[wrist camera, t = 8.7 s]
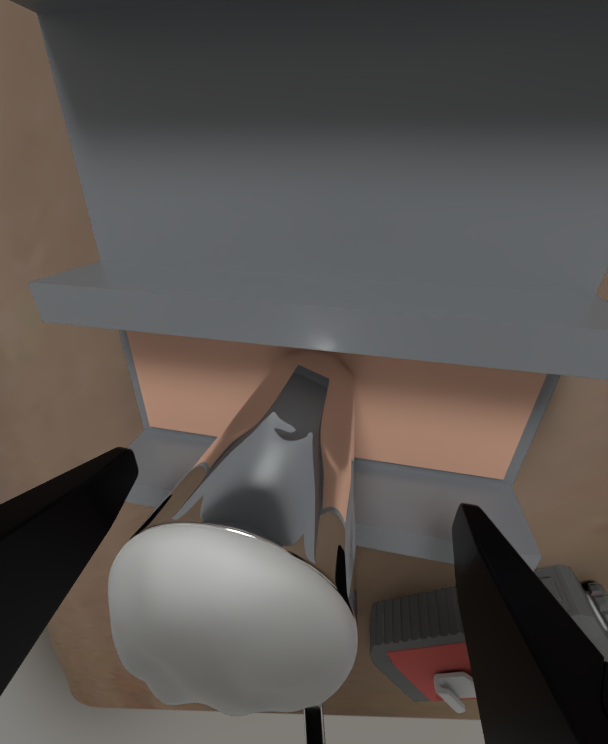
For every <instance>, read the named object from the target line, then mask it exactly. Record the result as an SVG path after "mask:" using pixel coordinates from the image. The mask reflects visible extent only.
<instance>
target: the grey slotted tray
mask: <svg viewBox="0 0 608 744" xmlns="http://www.w3.org/2000/svg"><path fill="white" fill-rule="evenodd" d="M11 1H13V2H15V3H17V4H19V5H21V6H23V7H25V8H27V9H29V10H32V11H34V12H36V13H37V15H38V19H39V23H40V27H41V31H42V35H43V39H44V42H45V46H46V50H47V54H48V58H49V62H50V66H51V70H52V73H53V77H54V81H55V85H56V89H57V93H58V97H59V101H60V104H61V108H62V112H63V116H64V120H65V124H66V128H67V132H68V136H69V139H70V143H71V147H72V151H73V155H74V159H75V163H76V167H77V170H78V174H79V178H80V182H81V186H82V190H83V194H84V198H85V201H86V205H87V209H88V213H89V217H90V221H91V225H92V229H93V232H94V236H95V240H96V244H97V248H98V252H99V256H100V260H101V261H100V262H96V263H93V264H89V265H86V266H82V267H79V268H76V269H72V270H69V271H65V272H62V273H58V274H55V275H51V276H48V277H44V278H41V279H37V280H34V281H30V282H28V284H29V286H30V289H31V292H32V294H33V297H34V300H35V303H36V305H37V308H38V311H39V314H40V316H41V319H42V322H50V323H60V324H70V325H79V326H89V327H99V328H109V329H118V330H119V333H120V337H121V341H122V345H123V349H124V353H125V357H126V361H127V364H128V368H129V372H130V376H131V380H132V384H133V388H134V392H135V395H136V399H137V403H138V407H139V411H140V415H141V419H142V423H143V426H144V431H143V432H142V433H141V434H140V435H139V436H138V437H137V438H136V440H135V441H134V442H133V443H132V444H131V445H130V446H129V447H128V448H129V449H132V450H133V452H134V455H135V458H136V461H137V465H138V469H139V473H138V477H137V479H136V481H135V483H134V485H133V487H132V489H131V491H130V493H129V494H128V496H127V498H126V500H125V502H129V503H135V504H140V505H145V506H150V507H156V508H157V507H158V506H159V504H160V503H161V502H162V501H163V500H164V499H165V497H166V496H167V495H168V494H169V493H170V492H171V490H172V489H173V488H174V487H175V486H176V485H177V484H178V482H179V481H180V480H181V479H182V478H183V477H184V475H185V474H186V473H187V472H188V471H189V470H190V468H191V467H192V466H193V465H194V464H195V463H196V462H197V460H198V459H199V458H200V457H201V456H202V455H203V454H204V452H205V451H206V450H207V449H208V448H209V447H210V446H211V444H212V443H213V442H214V441H215V440H216V439H217V437H218V436H219V435H220V434H221V433H222V431H223V430H224V429H225V428H226V427H227V425H228V424H229V423H230V422H231V420H232V419H233V418H234V417H235V415H236V414H237V413H238V412H239V410H240V409H241V408H242V407H243V405H244V404H245V403H246V401H247V400H248V399H249V398H250V396H251V395H252V394H253V393H254V391H255V390H256V389H257V388H258V386H259V385H260V384H261V383H262V381H263V380H264V379H265V378H266V376H267V375H268V374H269V373H270V371H271V370H272V369H273V368H274V366H275V365H276V364H277V362H278V361H279V360H280V359H281V358H282V357H283V356H285V355H289V354H292V353H295V352H298V351H301V350H304V349H313V350H317V351H320V352H324V353H327V354H331V355H335V356H336V357H337V358H338V359H339V360H340V361H341V363H342V364H343V365H344V366H345V367H346V368H347V369H348V370H349V372H350V373H351V374H352V375H353V376H354V389H355V438H354V487H353V499H354V509H355V533H356V546H360V547H365V548H370V549H376V550H381V551H386V552H391V553H397V554H402V555H407V556H412V557H418V558H423V559H428V560H433V561H439V562H444V563H449V564H454V555H453V542H452V524H453V521H454V518H455V515H456V512H457V509H458V506H459V505H460V503H469V504H475V505H478V506H479V507H480V508H481V509H482V510H483V511H484V512H485V514H486V515H487V516H488V517H489V518H490V520H491V521H492V522H493V523H494V524H495V526H496V527H497V528H498V529H499V531H500V532H501V533H502V534H503V535H504V537H505V538H506V539H507V540H508V541H509V543H510V544H511V545H512V546H513V547H514V549H515V550H516V551H517V552H518V553H519V555H520V556H521V557H522V558H523V560H524V561H525V562H526V563H527V564H528V566H529V567H530V568H531V569H532V570H533V571H534V570H535V568H536V566H537V565H538V563H539V561H540V559H541V558H542V556H541V554H540V551H539V549H538V547H537V544H536V542H535V540H534V537H533V535H532V533H531V530H530V528H529V525H528V523H527V521H526V518H525V516H524V514H523V511H522V509H521V507H520V504H519V502H518V499H517V497H516V495H515V492H514V490H513V488H512V485H513V483H514V480H515V478H516V476H517V473H518V471H519V469H520V467H521V464H522V462H523V460H524V457H525V455H526V453H527V451H528V448H529V446H530V444H531V441H532V439H533V437H534V435H535V432H536V430H537V428H538V425H539V423H540V421H541V419H542V416H543V414H544V412H545V409H546V407H547V405H548V403H549V400H550V398H551V396H552V393H553V391H554V389H555V387H556V384H557V382H558V380H559V377H560V375H566V376H575V377H585V378H595V379H605V380H608V301H606V300H604V299H602V298H600V297H598V296H597V295H596V293H597V290H598V288H599V286H600V284H601V281H602V279H603V277H604V274H605V272H606V270H607V268H608V0H11Z"/></svg>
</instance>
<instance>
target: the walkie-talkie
mask: <svg viewBox="0 0 608 744" xmlns="http://www.w3.org/2000/svg"><path fill="white" fill-rule="evenodd" d="M533 572H534V573H535V574H536V575H537V576H538V578H539V579H540V580H541V581H542V582H543V584H544V585H545V586H546V587H547V589H548V590H549V591H550V592H551V593H552V595H553V596H554V597H555V598H556V599H557V601H558V602H559V603H560V604H561V605H562V607H563V608H564V609H565V610H566V612H567V613H568V614H569V615H570V616H571V618H572V619H573V620H574V621H575V622H576V624H577V625H578V626H579V627H580V628H581V630H582V631H583V632H584V633H585V634H586V636H587V637H588V638H589V639H590V641H591V642H592V643H593V644H594V645H595V647H596V648H597V649H598V650H599V651H600V653H601V654H602V655H603V656H604V661H607V662H608V595H607V594H606V592H605V590H604V588H603V587H602V585H600V584H599V583H597V582H593V583H588V590H589V591H586V590H585V589H584V588H583V586H582V585H581V583H580V582H579V580H578V579H577V577H576V576H575V574H574V573H573V571H572V570H571V568H570V567H566V566H560V565H556V566H551V567H546V568H542V569H537V570H534V571H533ZM370 656H371V659H372V661H373V663H374V664H375V666H376V667H377V668H378V669H379V670H380V671H381V672H382V673H384V674H385V675H386V676H387V677H388V678H389V679H390V680H391V681H392V682H393V683H394V684H395V685H396V686H397V687H398V688H399V689H400V690H402V691H403V692H404V693H405V694H406V695H407V696H408V697H409V698H410V699H411V700H412V701H443V700H444V701H445V702H446V703H447V704H448V705H449V706H450V707H451V708H452V709H453V710H454V711H455V712H456V713H462V712H465V711H466V710H465V705H464V704H463V703H462V702H461V701H460V700H461V699H477V698H476V693H475V688H474V683H473V677H472V672H471V667H470V662H469V657H468V652H467V646H466V641H465V636H464V631H463V626H462V621H461V615H460V610H459V605H458V599H457V590H456V587H450V588H449V589H444V588H443V589H441V590H439V591H435V590H433V591H432V592H429V593H426V592H424V593H423V594H419V595H418V594H414V596H406V597H405V598H400V597H399V598H397V599H395V600H392V599H389V601H381V602H380V603H376V602H375V603H374V605H373V607H372V609H371V629H370Z"/></svg>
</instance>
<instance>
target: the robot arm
mask: <svg viewBox="0 0 608 744" xmlns="http://www.w3.org/2000/svg"><path fill="white" fill-rule="evenodd" d="M138 473H139V469H138V465H137V461H136V458H135V455H134V452H133V450H132V449H129V448H123V447H117V448H114V449H112V450H110V451H108V452H106V453H104V454H102V455H100V456H98V457H96V458H94V459H92V460H90V461H88V462H86V463H84V464H82V465H80V466H78V467H76V468H74V469H72V470H70V471H67V472H65V473H63V474H61V475H59V476H57V477H55V478H53V479H51V480H49V481H47V482H45V483H43V484H41V485H39V486H37V487H35V488H33V489H31V490H29V491H27V492H25V493H23V494H21V495H19V496H17V497H14V498H12V499H10V500H8V501H6V502H4V503H2V504H0V696H1V694H2V693H3V691H4V690H5V688H6V687H7V685H8V683H9V682H10V681H11V679H12V678H13V676H14V675H15V673H16V671H17V670H18V668H19V667H20V665H21V664H22V662H23V661H24V659H25V658H26V656H27V655H28V653H29V652H30V650H31V649H32V647H33V646H34V644H35V643H36V641H37V639H38V638H39V636H40V635H41V633H42V632H43V630H44V629H45V627H46V626H47V624H48V623H49V621H50V620H51V618H52V617H53V615H54V614H55V612H56V610H57V609H58V607H59V606H60V604H61V603H62V601H63V600H64V598H65V597H66V595H67V594H68V592H69V591H70V589H71V588H72V586H73V584H74V583H75V581H76V580H77V578H78V577H79V575H80V574H81V572H82V571H83V569H84V568H85V566H86V565H87V563H88V562H89V560H90V559H91V557H92V555H93V554H94V552H95V551H96V549H97V548H98V546H99V545H100V543H101V542H102V540H103V539H104V537H105V536H106V534H107V532H108V531H109V529H110V528H111V526H112V524H113V522H114V521H115V519H116V517H117V515H118V513H119V511H120V510H121V508H122V506H123V504H124V502H125V500H126V498H127V496H128V494H129V493H130V491H131V489H132V487H133V485H134V483H135V481H136V479H137V477H138ZM452 542H453V555H454V567H455V579H456V590H457V599H458V605H459V610H460V615H461V621H462V626H463V631H464V636H465V641H466V646H467V652H468V657H469V662H470V667H471V672H472V677H473V683H474V688H475V693H476V698H477V703H478V708H479V714H480V719H481V723H482V729H483V734H484V739H485V744H608V662H607V661H604V656H603V655H602V654H601V653H600V651H599V650H598V649H597V648H596V647H595V645H594V644H593V643H592V642H591V641H590V639H589V638H588V637H587V636H586V634H585V633H584V632H583V631H582V630H581V628H580V627H579V626H578V625H577V624H576V622H575V621H574V620H573V619H572V618H571V616H570V615H569V614H568V613H567V612H566V610H565V609H564V608H563V607H562V605H561V604H560V603H559V602H558V601H557V599H556V598H555V597H554V596H553V595H552V593H551V592H550V591H549V590H548V589H547V587H546V586H545V585H544V584H543V582H542V581H541V580H540V579H539V578H538V576H537V575H536V574H535V573H534V572H533V570H532V569H531V568H530V567H529V566H528V564H527V563H526V562H525V561H524V560H523V558H522V557H521V556H520V555H519V553H518V552H517V551H516V550H515V549H514V547H513V546H512V545H511V544H510V543H509V541H508V540H507V539H506V538H505V537H504V535H503V534H502V533H501V532H500V531H499V529H498V528H497V527H496V526H495V524H494V523H493V522H492V521H491V520H490V518H489V517H488V516H487V515H486V514H485V512H484V511H483V510H482V509H481V508H480V507H479V506H478V505H475V504H469V503H460V505H459V506H458V509H457V512H456V515H455V518H454V521H453V524H452Z"/></svg>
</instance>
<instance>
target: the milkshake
mask: <svg viewBox="0 0 608 744" xmlns="http://www.w3.org/2000/svg"><path fill="white" fill-rule="evenodd" d="M354 438H355V389H354V376H353V375H352V374H351V373H350V372H349V370H348V369H347V368H346V367H345V366H344V365H343V364H342V363H341V361H340V360H339V359H338V358H337V357H336V356H335V355H331V354H327V353H324V352H320V351H317V350H313V349H304V350H301V351H298V352H295V353H292V354H289V355H285V356H283V357H282V358H281V359H280V360H279V361H278V362H277V364H276V365H275V366H274V368H273V369H272V370H271V371H270V373H269V374H268V375H267V376H266V378H265V379H264V380H263V381H262V383H261V384H260V385H259V386H258V388H257V389H256V390H255V391H254V393H253V394H252V395H251V396H250V398H249V399H248V400H247V401H246V403H245V404H244V405H243V407H242V408H241V409H240V410H239V412H238V413H237V414H236V415H235V417H234V418H233V419H232V420H231V422H230V423H229V424H228V425H227V427H226V428H225V429H224V430H223V431H222V433H221V434H220V435H219V436H218V437H217V439H216V440H215V441H214V442H213V443H212V444H211V446H210V447H209V448H208V449H207V450H206V451H205V452H204V454H203V455H202V456H201V457H200V458H199V459H198V460H197V462H196V463H195V464H194V465H193V466H192V467H191V468H190V470H189V471H188V472H187V473H186V474H185V475H184V477H183V478H182V479H181V480H180V481H179V482H178V484H177V485H176V486H175V487H174V488H173V489H172V490H171V492H170V493H169V494H168V495H167V496H166V497H165V499H164V500H163V501H162V502H161V503H160V504H159V506H158V507H157V508H156V509H155V510H154V511H153V512H152V514H151V515H150V516H149V517H148V518H147V519H146V521H145V522H144V523H143V524H142V525H141V526H140V528H139V529H138V530H137V531H136V532H135V533H134V535H133V536H132V537H131V538H130V539H129V541H128V542H127V543H126V544H125V545H124V547H123V548H122V549H121V550H120V552H119V553H118V555H117V556H116V558H115V560H114V562H113V564H112V567H111V570H110V574H109V580H108V602H109V611H110V621H111V630H112V637H113V640H114V644H115V647H116V650H117V653H118V656H119V658H120V660H121V662H122V664H123V666H124V667H125V668H126V670H127V671H128V672H129V673H130V674H132V675H133V676H135V677H136V678H138V679H140V680H143V681H144V682H145V683H146V684H147V685H148V687H149V688H150V690H151V691H152V693H153V694H154V695H155V697H156V698H157V699H158V700H160V701H161V702H163V703H165V704H169V705H178V704H185V703H202V704H205V705H208V706H210V707H212V708H214V709H216V710H218V711H220V712H222V713H224V714H227V715H231V716H242V715H247V714H251V713H256V712H268V711H276V712H294V711H299V710H302V709H304V726H305V744H325V732H324V719H323V707H322V703H323V702H324V701H326V700H327V699H328V698H330V697H331V696H332V695H333V694H334V693H335V692H336V691H337V690H338V689H339V688H340V687H341V685H342V684H343V683H344V681H345V680H346V678H347V677H348V675H349V673H350V671H351V670H352V667H353V665H354V661H355V658H356V653H357V646H358V635H357V578H356V533H355V509H354V499H353V487H354Z"/></svg>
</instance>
